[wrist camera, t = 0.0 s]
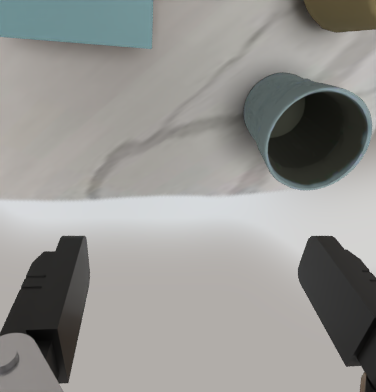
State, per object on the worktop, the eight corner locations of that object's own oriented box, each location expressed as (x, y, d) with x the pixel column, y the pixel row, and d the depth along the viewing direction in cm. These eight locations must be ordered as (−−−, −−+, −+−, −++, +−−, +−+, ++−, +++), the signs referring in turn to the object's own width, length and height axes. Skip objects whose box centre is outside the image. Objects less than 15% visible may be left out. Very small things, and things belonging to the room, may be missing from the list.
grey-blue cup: (316, 133, 42) (371, 174, 31) (243, 156, 42) (273, 203, 32) (310, 53, 36) (374, 71, 26) (226, 81, 37) (257, 109, 27)
